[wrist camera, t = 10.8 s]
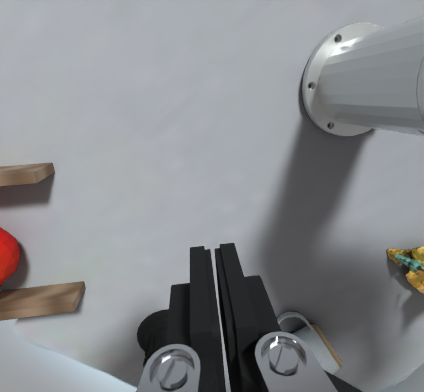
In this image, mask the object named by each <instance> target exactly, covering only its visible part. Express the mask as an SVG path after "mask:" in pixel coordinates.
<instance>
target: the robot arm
mask: <svg viewBox="0 0 424 392" xmlns="http://www.w3.org/2000/svg"><path fill="white" fill-rule="evenodd" d="M334 38H335V39H336V41H334ZM309 84H310V88H308V85H309ZM302 95H303V102H304V105H305V109H306V111H307V113H308V115H309V117H310V118H311V120H312V121H313V122H314V123H315V124H316V125H317V126H318V127H319V128H321V129H322V130H324V131H326V132H328V133H330V134H334V135H339V136H355V135H358V134H362V133H364V132H367V131H369V130H371V129H372V128H376V129H382V130H389V131H395V132H401V133H408V134H414V135H420V136H424V15H423V16H420V17H417V18H414V19H411V20H408V21H405V22H402V23H399V24H396V25H393V26H391V27H388V28H384V27H382V26H380V25H377V24H374V23H366V22H360V23H354V24H350V25H348V26H345V27H342V28H340V29H338V30H336V31H334V32H333V33H331V34H330V35H329V36H328V37H326V38H325V39H324V40H323V41H322V42H321V43H320V44H319V45H318V47H317V48H316V49H315V51H314V52H313V54H312V55H311V57H310V59H309V61H308V64H307V66H306V69H305V73H304V76H303V84H302ZM328 124H329V125H328ZM327 125H328V127H327ZM215 260H216V271H217V283H218V294H219V306H220V314H221V322H222V329H223V337H224V344H225V351H226V359H227V366H228V373H229V381H230V388H231V392H362V391H360V390H359V389H357V388H355V387H353V386H352V385H350V384H348V383H346V382H345V381H343V380H341V379H339V378H338V377H336V376H334V375H332V374H331V373H329V372H327V371H325V370H324V369H323V368H322V367H321V365H320V363H319V362H318V360H317V359H316V357H315V356H314V354H313V353H312V351H311V350H310V348H309V347H308V346H307V345H306V343H305V342H304V341H303V340H301V339H300V338H298V337H297V336H295V335H293V334H290V333H287V332H281V329H280V326H279V324H278V321H277V319H276V316H275V313H274V311H273V308H272V306H271V303H270V300H269V298H268V295H267V292H266V290H265V287H264V285H263V282H262V279H261V277H260V276H259V275H257V276H248V277H244V275H243V272H242V268H241V265H240V262H239V258H238V255H237V251H236V248H235V244H234V243H228V244H220V248H217V249H215ZM136 392H226V388H225V376H224V365H223V354H222V343H221V332H220V323H219V315H218V307H217V299H216V291H215V284H214V276H213V268H212V260H211V252H210V249H208V250H205V249H204V246H200V247H191V248H190V283H186V284H177V285H172V286H171V295H170V305H169V315H168V325H167V335H166V346H165V347H163V348H161V349H159V350H158V351H156V352H155V353H154V354H153V355H152V356H151V357H150V358H149V359H148V361H147V363H146V365H145V367H144V370H143V373H142V376H141V379H140V382H139V385H138V388H137V391H136Z"/></svg>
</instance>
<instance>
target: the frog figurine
mask: <svg viewBox="0 0 424 392" xmlns="http://www.w3.org/2000/svg"><path fill="white" fill-rule="evenodd" d="M387 252H388V257H389V259H392V260H393V261H394V262H395V264H397V265H398V263H399V264H400V263H403V264H405V265H406V266H407V267H408V266H409V267H408V268H410V269H409V273H407V274H406V277H407V280H408V282H409V283H410V284H411V285H412V286H413V287H414V288H417V289H418V290H419V291H420V292H421V293H423V294H424V246H422V247H420V248H417V249H415V248H413V250H412V257H413V259H414V260H413V259H412V258H411V257H410V256H409V254H411V253H410V249H408V251H406V250H399V249H388V250H387Z"/></svg>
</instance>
